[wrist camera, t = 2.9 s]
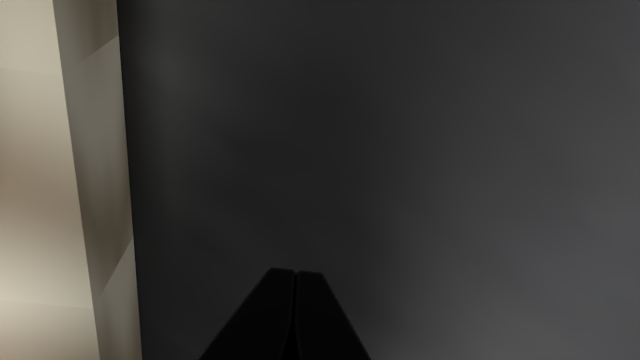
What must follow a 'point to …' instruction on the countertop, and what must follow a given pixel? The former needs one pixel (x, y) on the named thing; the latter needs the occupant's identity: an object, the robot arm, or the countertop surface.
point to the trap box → (64, 186)
